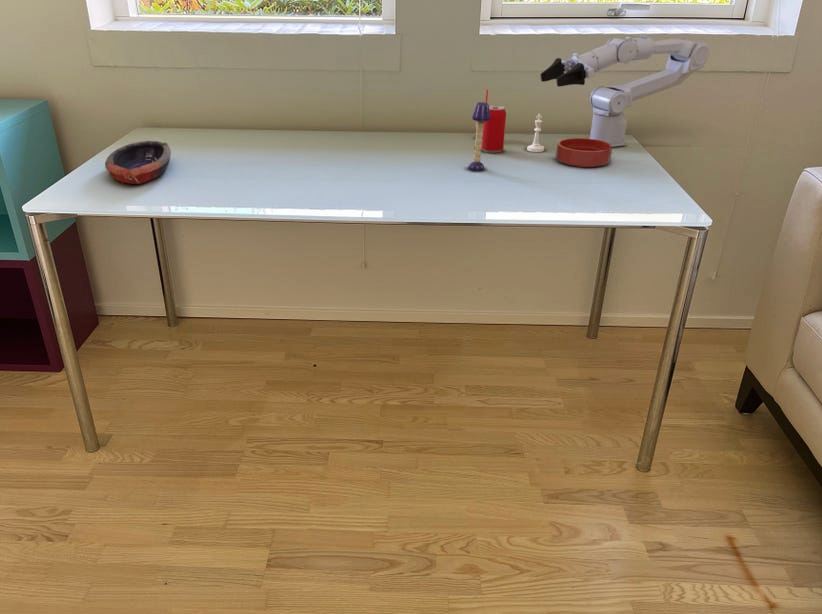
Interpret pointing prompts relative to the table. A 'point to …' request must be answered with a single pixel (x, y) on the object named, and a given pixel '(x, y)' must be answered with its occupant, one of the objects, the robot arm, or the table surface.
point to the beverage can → (494, 130)
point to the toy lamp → (479, 133)
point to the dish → (138, 161)
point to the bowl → (583, 152)
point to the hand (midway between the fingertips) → (549, 80)
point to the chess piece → (536, 137)
